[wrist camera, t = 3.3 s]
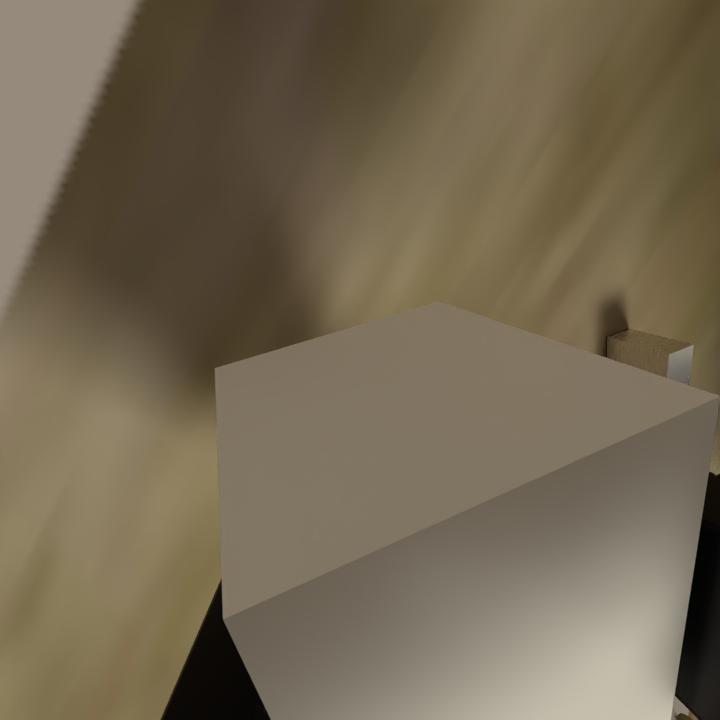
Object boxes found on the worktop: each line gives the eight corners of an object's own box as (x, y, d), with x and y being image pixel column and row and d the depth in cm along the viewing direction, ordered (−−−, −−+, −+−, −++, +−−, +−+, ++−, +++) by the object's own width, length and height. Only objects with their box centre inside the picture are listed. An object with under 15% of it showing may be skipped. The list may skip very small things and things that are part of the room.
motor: (661, 317, 17) (889, 363, 12) (641, 555, 23) (790, 670, 17) (369, 423, 14) (481, 564, 8) (424, 674, 19) (516, 868, 14)
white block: (438, 301, 8) (720, 396, 4) (471, 563, 11) (657, 802, 6) (214, 368, 7) (223, 618, 3) (313, 639, 10) (401, 993, 5)
